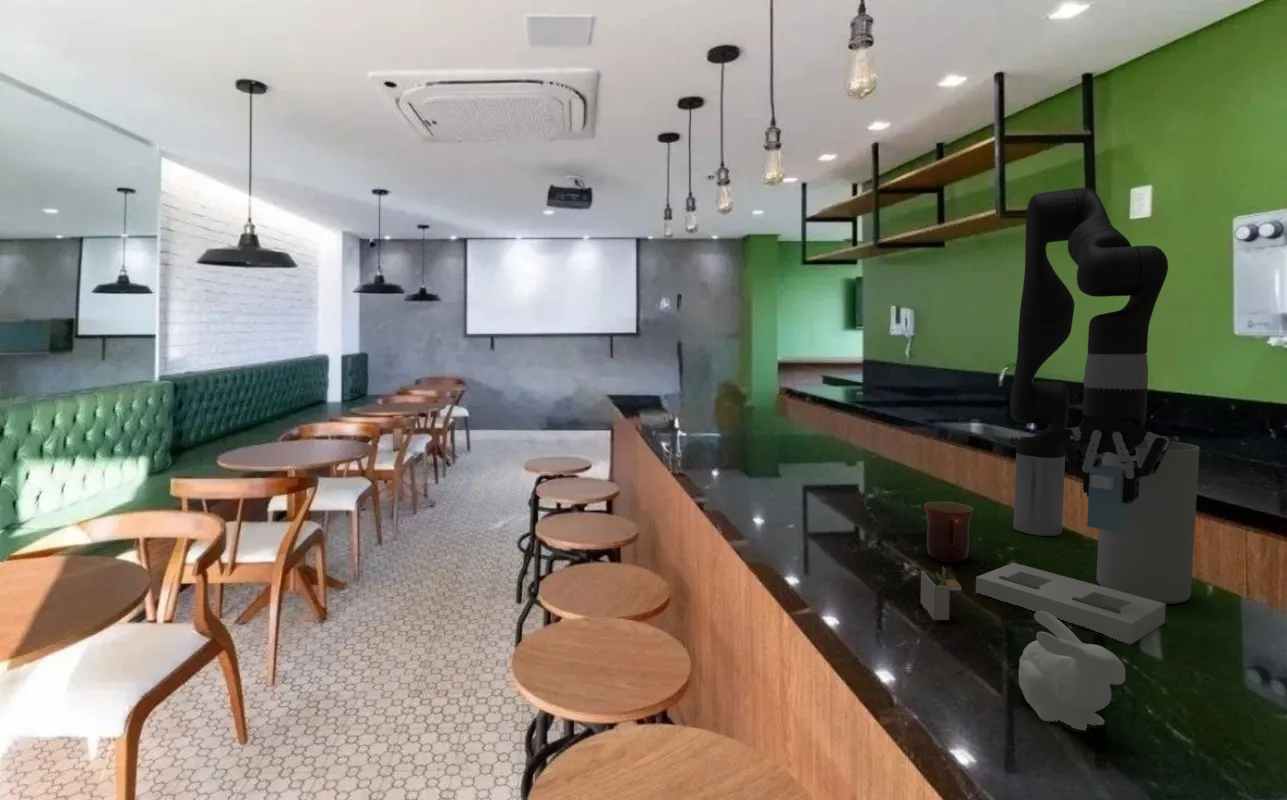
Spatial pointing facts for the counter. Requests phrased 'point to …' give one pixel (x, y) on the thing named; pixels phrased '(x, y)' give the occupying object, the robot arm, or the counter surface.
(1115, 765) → the counter surface
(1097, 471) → the plug
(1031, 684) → the rabbit
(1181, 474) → the cylinder vase
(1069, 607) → the port panel
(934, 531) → the mug
